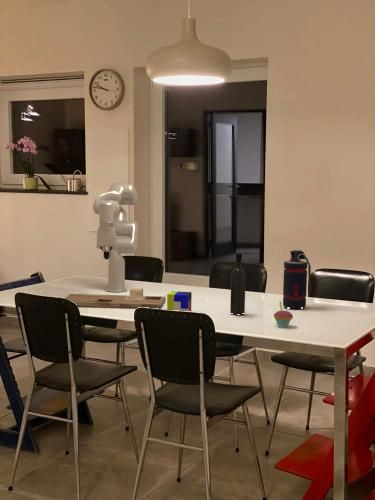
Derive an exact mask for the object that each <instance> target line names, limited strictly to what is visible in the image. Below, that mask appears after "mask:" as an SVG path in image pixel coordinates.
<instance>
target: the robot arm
mask: <svg viewBox="0 0 375 500" xmlns="http://www.w3.org/2000/svg"><path fill="white" fill-rule="evenodd" d="M138 200H139V196H138V191H137V190H136V187H135V185H134V184H133V183H129V182H115V183H112V184H111V185H110V187H109V188H108V190H107V192H105V193H101V194H99V195H97V197H96V198H95V200H94V201H93V205H92V210H93V212H94V214H96V215H99V217H98V219H99V222H98V223H99V225H98V227H97V235H96V248H97V249H100V250H102V252H103V258H104V260H108V267H107V268H108V270H107V271H108V273H107V274H108V283H107V284H108V286H107V287H106V288H105V292H109V293H123V292H128V288H127V287H125V278H126V275H125V274H126V268H125V267H126V261H125V258H124V256H122V254H124V255H125V254H127V255H128V254H129V255H132V254H135V253H136V252H137V249H138V242H139V241H138V240H139V239H138V237H139V225H138V222H137V221H135V220H131V219H130V220H129V219H128V220H127V217H128V214H127V211H126V210H125V208H123V206H126V205H127V206H134V205H136V204H137V203H138ZM122 205H123V206H122ZM106 247H107V249H106Z"/></svg>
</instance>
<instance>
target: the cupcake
mask: <svg viewBox="0 0 375 500" xmlns="http://www.w3.org/2000/svg"><path fill="white" fill-rule="evenodd" d="M282 306H283V305H282V301H281V300H279V309H280V310H278V311H276V312H275V313H274V314H273V317H274V319H275V322H276V324H277V326H278V325H279V326H288V327H289V324H290V322H291V320H293V318H294V316H293V315H294V314H292V312H290V311H288V310H283V307H282ZM279 326H278V327H279Z"/></svg>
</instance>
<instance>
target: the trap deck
mask: <svg viewBox="0 0 375 500" xmlns="http://www.w3.org/2000/svg"><path fill="white" fill-rule="evenodd" d="M166 297H167V296H161V295H160V296H157V295H156V296H154V295H143V298H142V299H130V295H115V294H114V295H113V294H91V293H90V294H86V293H83V294H82V293H80V294H79V293H70V294H68V295H67V296H65V297H64V298H65V299H69V300H70V301H72V302H74V303H76V304H77V306H78V307H77V308H94V309H95V308H97V309H98V308H99V309H101V308H103V309H128V310H129V309H133V310H134V309H135V310H137V309H136V308H138V307H149V308H159V309H158V310H162V309H163V307H164V305H165V303H166V302H167V301H166V299H167V298H166Z"/></svg>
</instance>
